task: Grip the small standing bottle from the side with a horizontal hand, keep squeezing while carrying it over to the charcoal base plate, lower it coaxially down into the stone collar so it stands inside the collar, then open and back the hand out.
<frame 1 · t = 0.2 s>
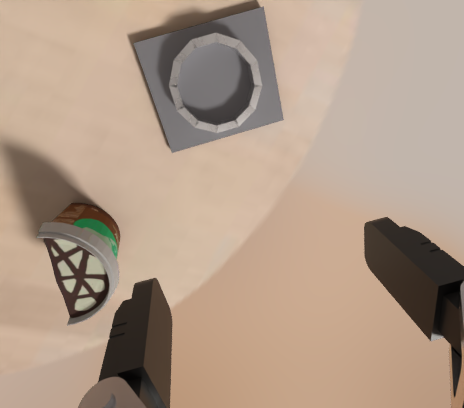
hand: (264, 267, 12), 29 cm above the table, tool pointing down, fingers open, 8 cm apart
food container: (105, 232, 41), on the table
base plate: (213, 84, 36), on the table
stone collar: (215, 85, 34), on the base plate, point 1 cm above the table
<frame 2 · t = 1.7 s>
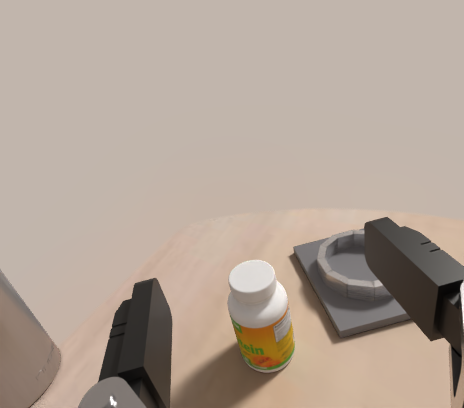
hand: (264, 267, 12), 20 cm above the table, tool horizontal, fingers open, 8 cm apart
supplement bottle: (268, 349, 31), on the table
base plate: (362, 275, 36), on the table
stone collar: (362, 261, 36), on the base plate, point 1 cm above the table
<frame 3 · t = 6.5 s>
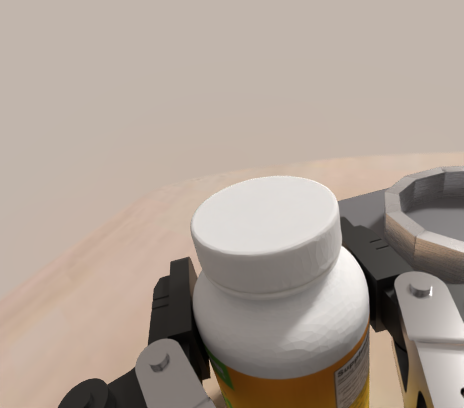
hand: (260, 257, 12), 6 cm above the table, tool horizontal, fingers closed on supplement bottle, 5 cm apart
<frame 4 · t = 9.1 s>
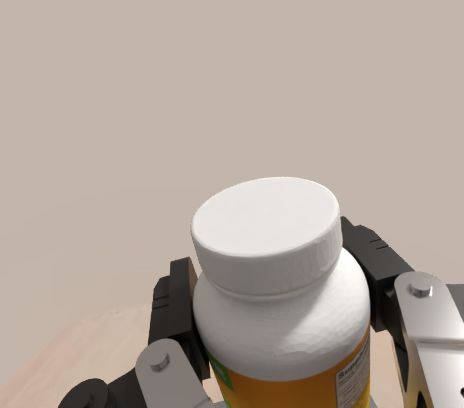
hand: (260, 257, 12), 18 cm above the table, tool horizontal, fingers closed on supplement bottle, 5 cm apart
when the fingers open (8 cm above the table, at t = 11.9 s): supplement bottle stays where it is, resting on base plate.
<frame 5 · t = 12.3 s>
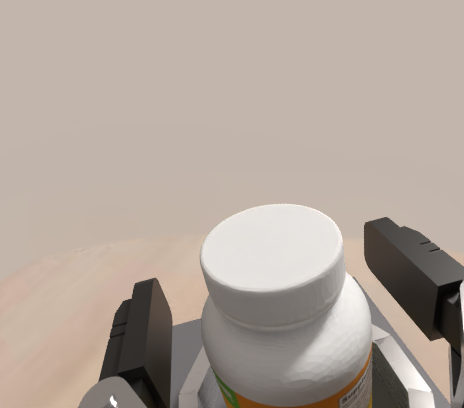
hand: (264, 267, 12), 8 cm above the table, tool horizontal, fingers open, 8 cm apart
stone collar: (298, 406, 13), on the base plate, point 1 cm above the table
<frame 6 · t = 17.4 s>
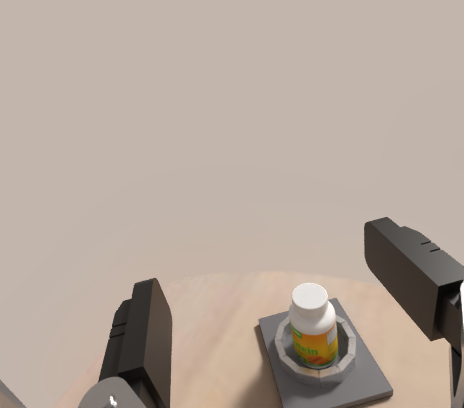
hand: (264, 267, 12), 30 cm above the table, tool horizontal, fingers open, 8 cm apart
supplement bottle: (316, 351, 40), point 1 cm above the table, touching base plate
base plate: (316, 354, 40), on the table
stone collar: (314, 344, 39), on the base plate, point 1 cm above the table
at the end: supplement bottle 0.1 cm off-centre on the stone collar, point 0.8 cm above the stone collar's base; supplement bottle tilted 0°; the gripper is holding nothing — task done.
